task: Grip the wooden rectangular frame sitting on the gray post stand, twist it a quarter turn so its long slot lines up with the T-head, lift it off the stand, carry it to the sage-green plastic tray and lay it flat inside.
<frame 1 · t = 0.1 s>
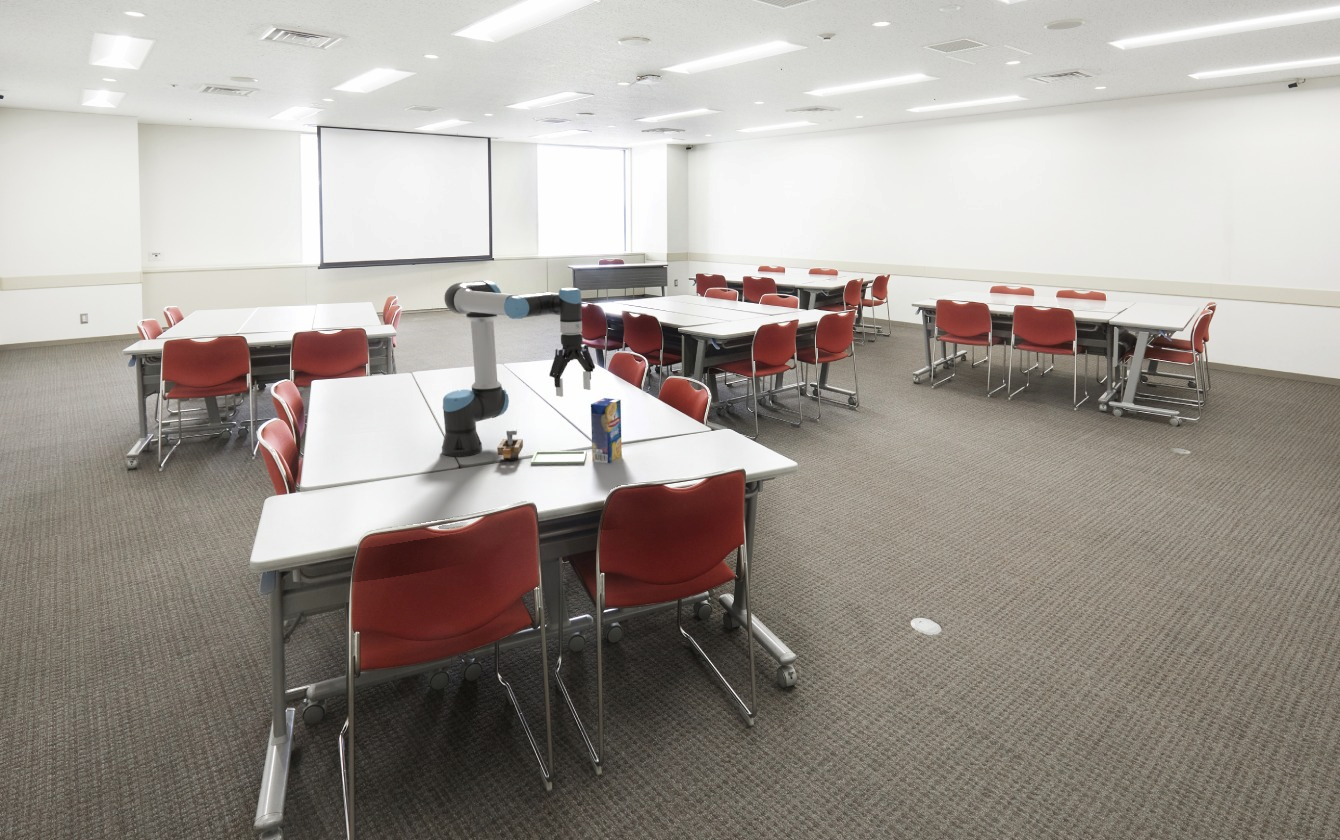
hand: (573, 392, 266), 28 cm above the table, fingers open, 13 cm apart
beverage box: (607, 458, 283), on the table
gray post stand: (511, 459, 281), on the table
tray: (559, 459, 282), on the table
wooden rectangular frame: (510, 450, 280), point 3 cm above the table, touching gray post stand
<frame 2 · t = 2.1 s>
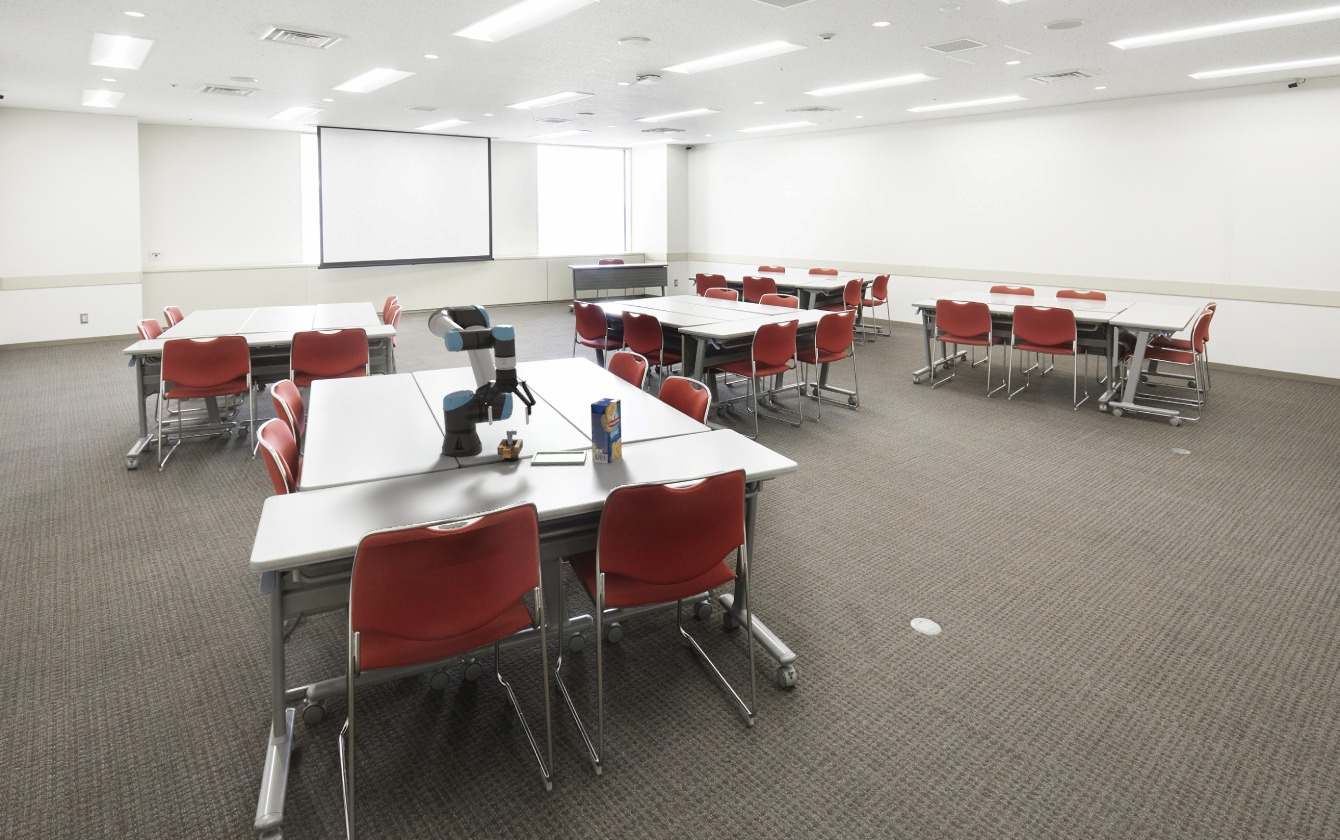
hand: (509, 424, 277), 14 cm above the table, fingers open, 13 cm apart
nothing on the table moved.
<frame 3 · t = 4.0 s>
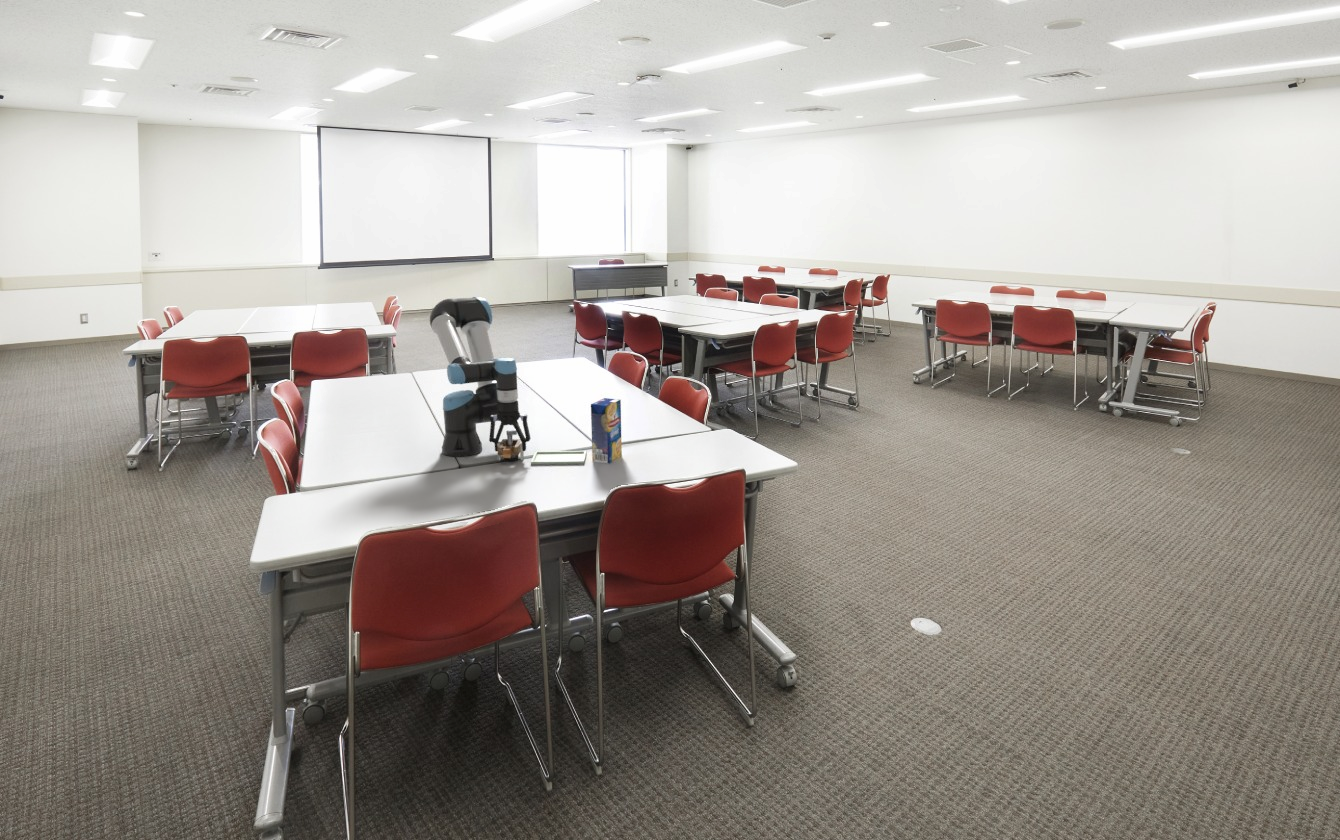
hand: (511, 459, 281), 0 cm above the table, fingers closed on wooden rectangular frame, 8 cm apart
wooden rectangular frame: (510, 450, 280), point 3 cm above the table, touching gripper, gray post stand
everything else where it was.
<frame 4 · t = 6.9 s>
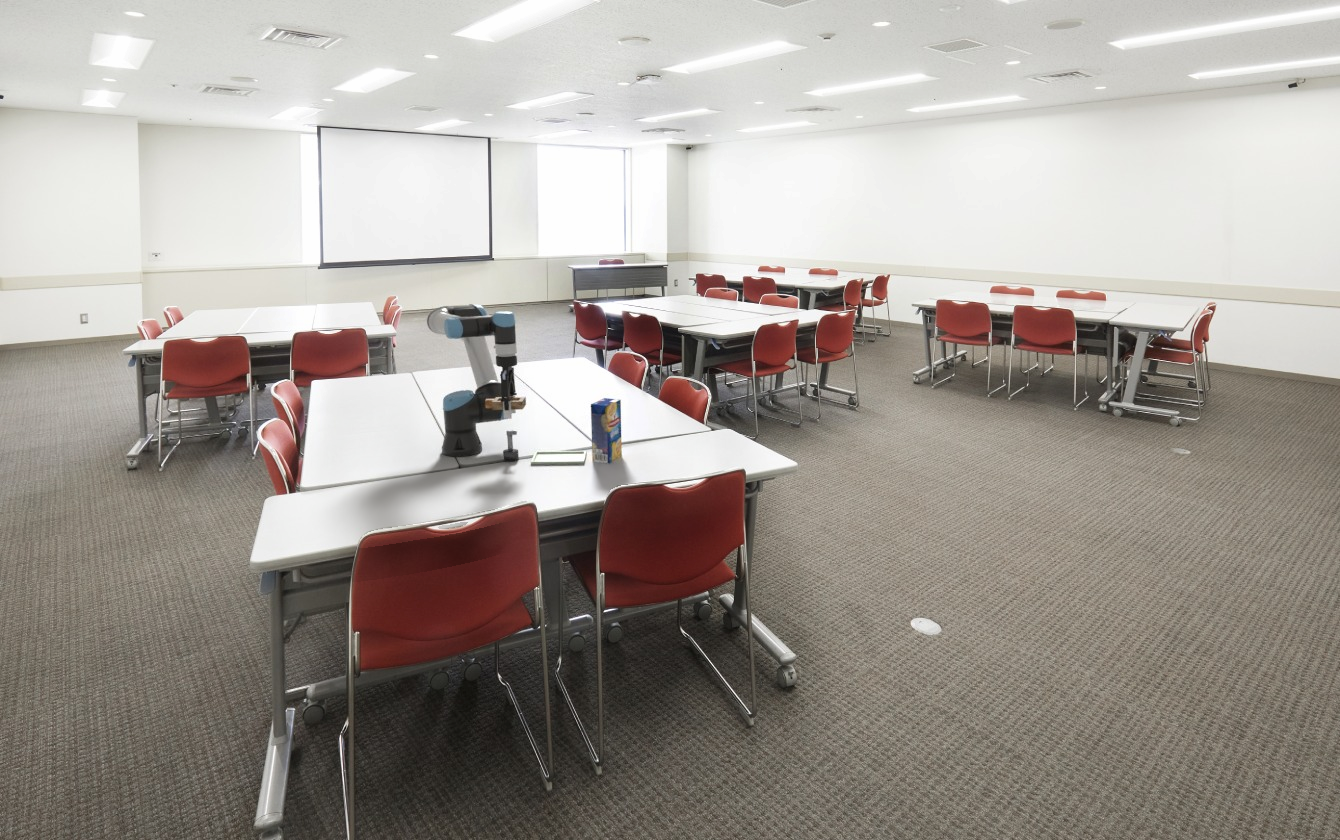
hand: (509, 415, 276), 17 cm above the table, fingers closed on wooden rectangular frame, 8 cm apart
wooden rectangular frame: (509, 407, 276), point 20 cm above the table, touching gripper
everything else where it was.
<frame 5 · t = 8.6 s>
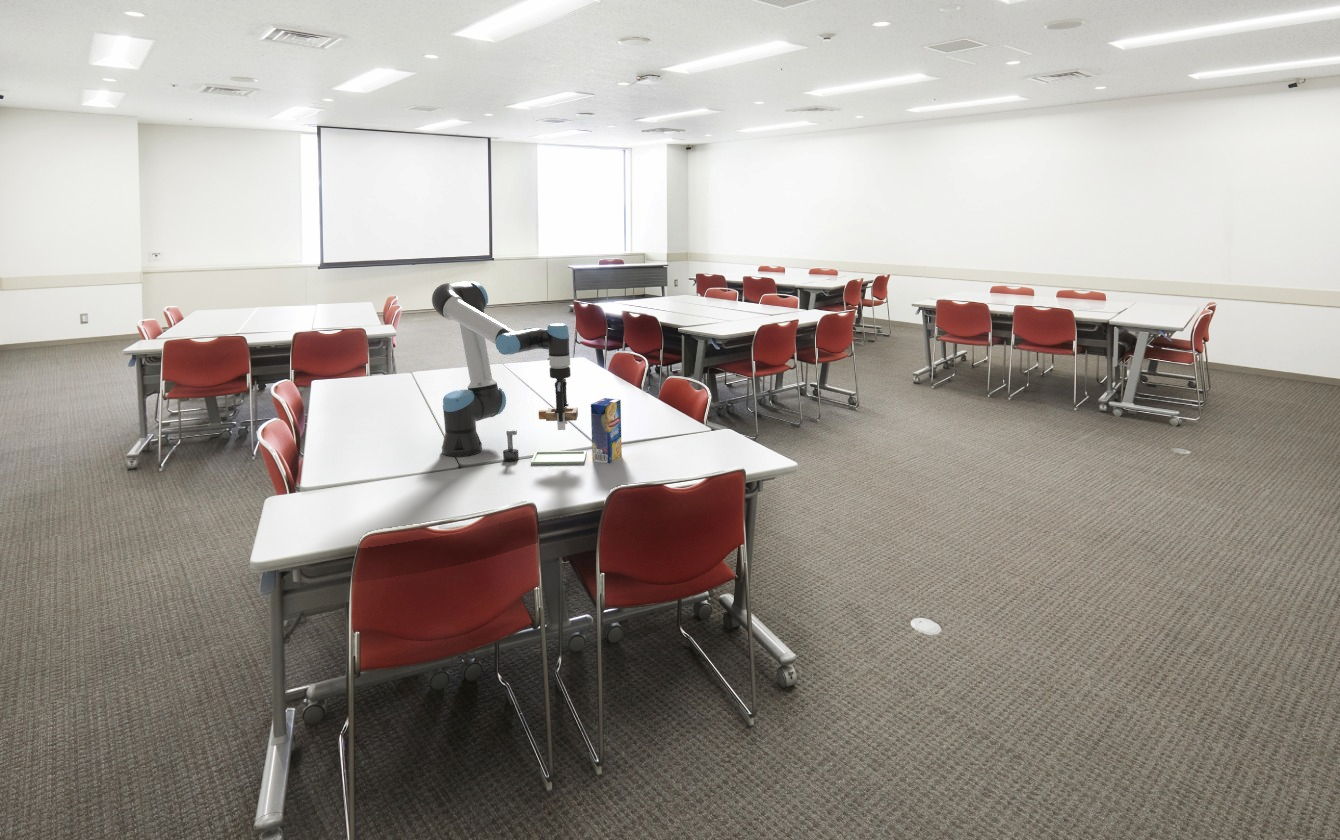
hand: (562, 426, 278), 13 cm above the table, fingers closed on wooden rectangular frame, 8 cm apart
wooden rectangular frame: (562, 418, 277), point 16 cm above the table, touching gripper
everything else where it was.
when the fingers open (2 cm above the table, at t = 10.1 s): wooden rectangular frame drops 4 cm, resting on tray.
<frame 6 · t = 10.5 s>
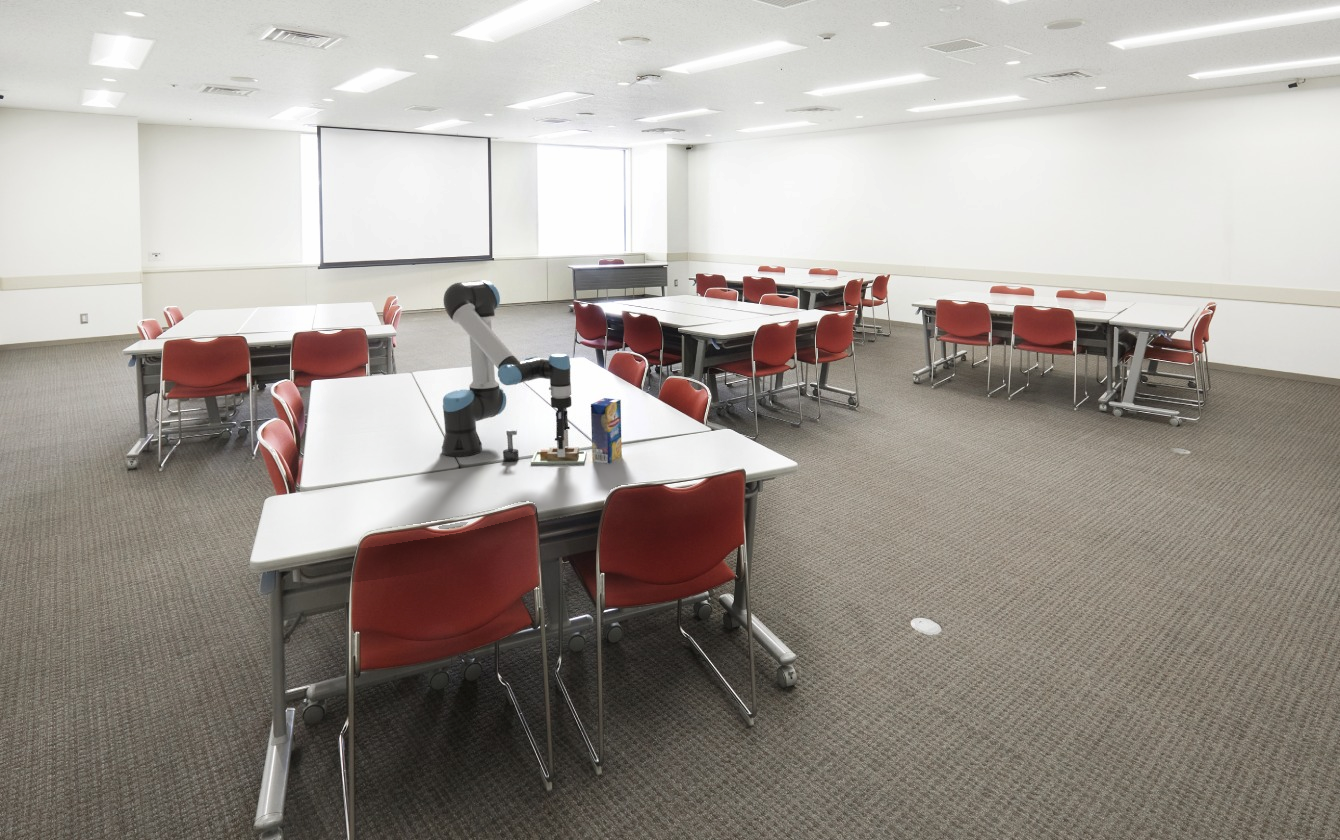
hand: (563, 451, 281), 3 cm above the table, fingers open, 12 cm apart
wooden rectangular frame: (563, 457, 282), resting on tray
everything else where it was.
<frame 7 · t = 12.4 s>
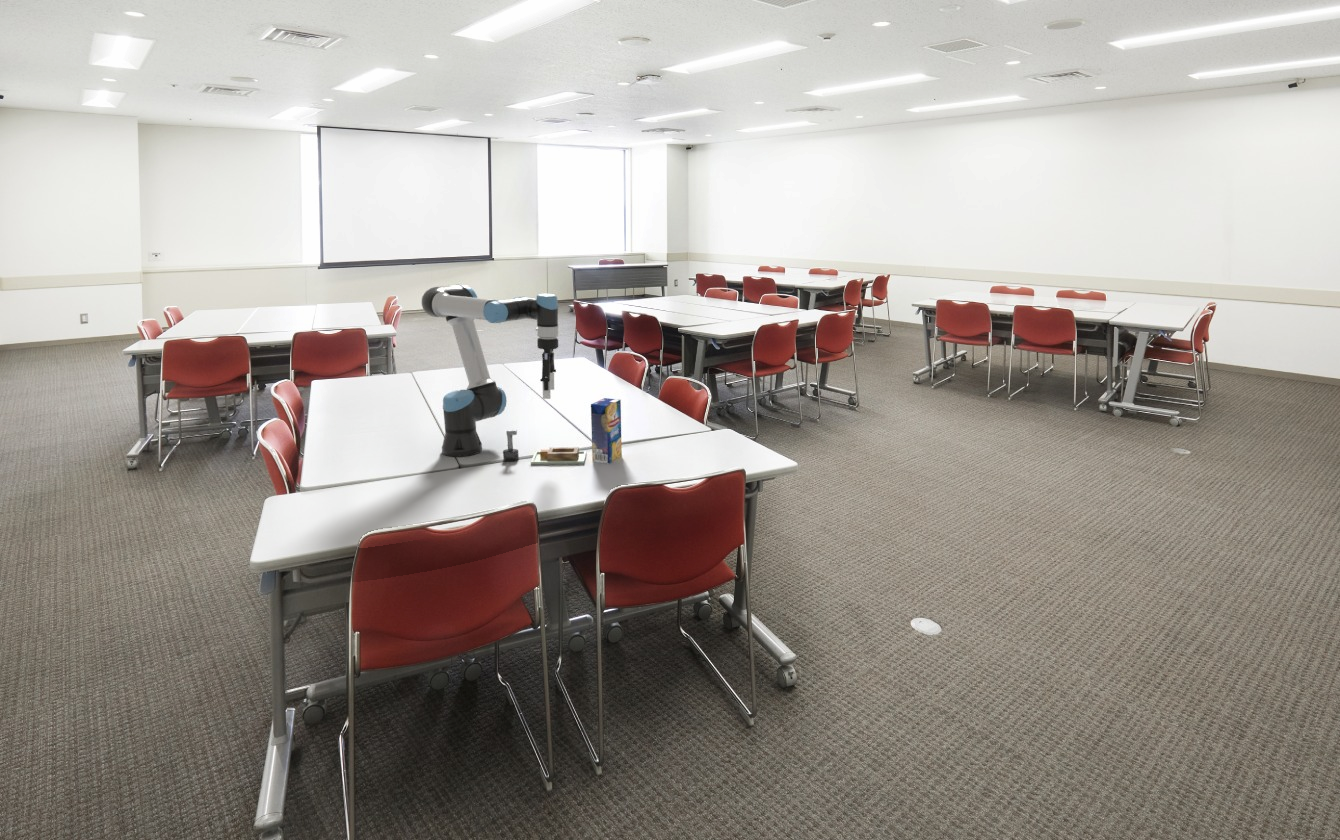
hand: (548, 394, 277), 25 cm above the table, fingers open, 13 cm apart
nothing on the table moved.
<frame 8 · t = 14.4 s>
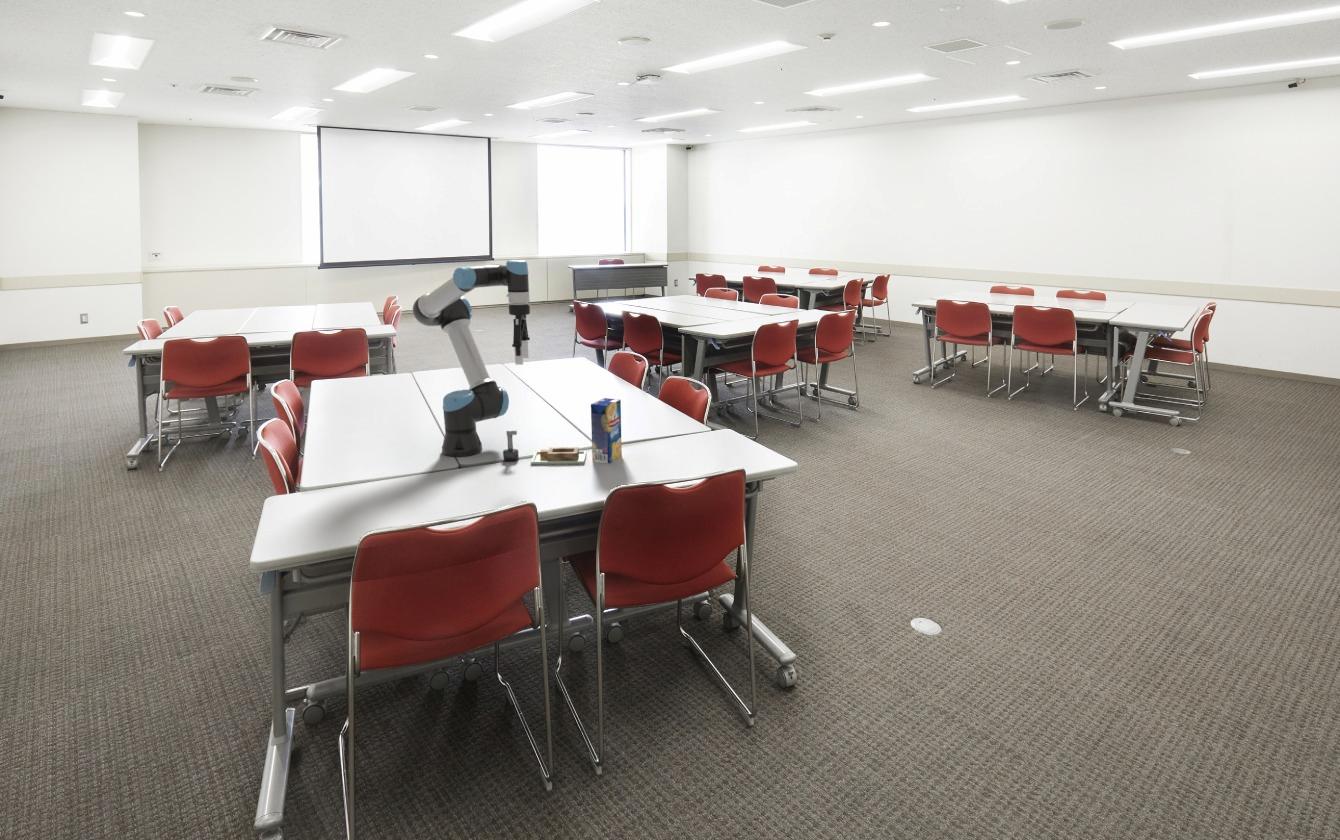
hand: (522, 361, 277), 37 cm above the table, fingers open, 13 cm apart
nothing on the table moved.
at the end: wooden rectangular frame inside the target area on the tray (1.6 cm from its centre), point 0.5 cm above the tray's base; wooden rectangular frame tilted 0°; the gripper is holding nothing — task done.
